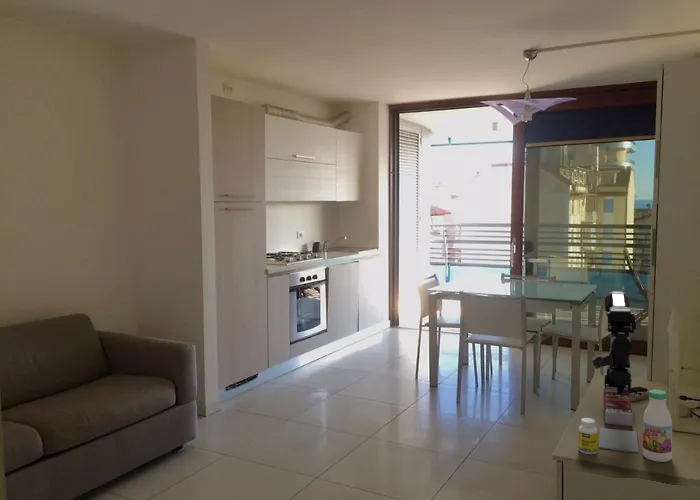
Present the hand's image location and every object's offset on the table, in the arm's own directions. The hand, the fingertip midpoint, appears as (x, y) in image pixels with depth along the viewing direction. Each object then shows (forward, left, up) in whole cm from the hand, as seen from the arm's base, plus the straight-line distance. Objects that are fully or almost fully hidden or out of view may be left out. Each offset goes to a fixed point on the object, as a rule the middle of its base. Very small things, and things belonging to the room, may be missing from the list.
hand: (619, 393), depth 197 cm
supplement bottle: (+20, -9, -13) cm, 25 cm away
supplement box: (-4, 0, -10) cm, 11 cm away
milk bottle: (+18, +10, -13) cm, 24 cm away
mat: (+9, -1, -13) cm, 15 cm away
